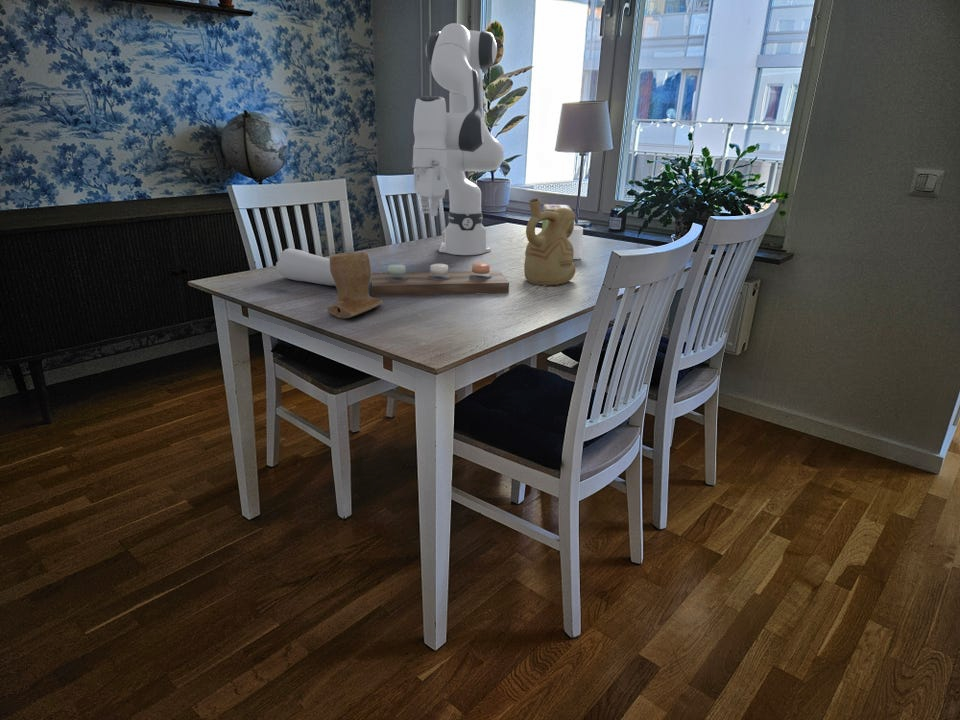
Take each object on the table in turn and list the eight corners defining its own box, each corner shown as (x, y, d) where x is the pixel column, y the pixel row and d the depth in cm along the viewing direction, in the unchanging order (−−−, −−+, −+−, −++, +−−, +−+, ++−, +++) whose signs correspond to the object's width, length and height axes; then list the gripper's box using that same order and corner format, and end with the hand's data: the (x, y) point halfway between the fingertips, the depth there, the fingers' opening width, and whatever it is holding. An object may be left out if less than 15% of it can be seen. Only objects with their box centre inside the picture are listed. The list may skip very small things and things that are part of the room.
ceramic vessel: (588, 281, 190) (595, 197, 181) (545, 292, 178) (551, 202, 168) (546, 271, 202) (551, 191, 192) (503, 280, 189) (506, 196, 180)
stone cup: (351, 300, 167) (348, 244, 161) (389, 307, 162) (387, 249, 156) (314, 315, 154) (308, 255, 148) (353, 323, 149) (349, 261, 144)
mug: (549, 260, 215) (551, 229, 211) (560, 254, 225) (562, 224, 221) (572, 263, 212) (575, 232, 208) (583, 257, 222) (586, 226, 218)
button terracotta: (470, 269, 182) (471, 263, 181) (487, 269, 183) (488, 262, 182) (473, 274, 177) (473, 267, 177) (490, 273, 178) (491, 266, 177)
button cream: (429, 270, 180) (429, 263, 179) (447, 270, 181) (447, 263, 180) (431, 274, 176) (431, 267, 175) (448, 274, 176) (448, 267, 176)
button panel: (372, 283, 183) (372, 272, 182) (499, 280, 189) (499, 269, 188) (372, 296, 171) (371, 284, 169) (508, 292, 176) (509, 281, 175)
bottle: (269, 271, 181) (350, 289, 168) (280, 242, 182) (361, 258, 169) (289, 282, 189) (368, 300, 176) (300, 254, 190) (379, 271, 177)
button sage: (387, 271, 178) (387, 264, 178) (405, 271, 179) (405, 264, 178) (388, 275, 174) (387, 268, 173) (406, 275, 174) (406, 268, 174)
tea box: (569, 250, 233) (572, 209, 227) (542, 249, 233) (545, 208, 227) (565, 242, 247) (568, 203, 241) (540, 241, 247) (542, 203, 241)
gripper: (451, 161, 157) (450, 217, 161) (432, 161, 176) (431, 211, 180) (427, 160, 155) (426, 217, 159) (410, 160, 174) (410, 211, 178)
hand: (429, 214), depth 170 cm, fingers open, 8 cm apart
